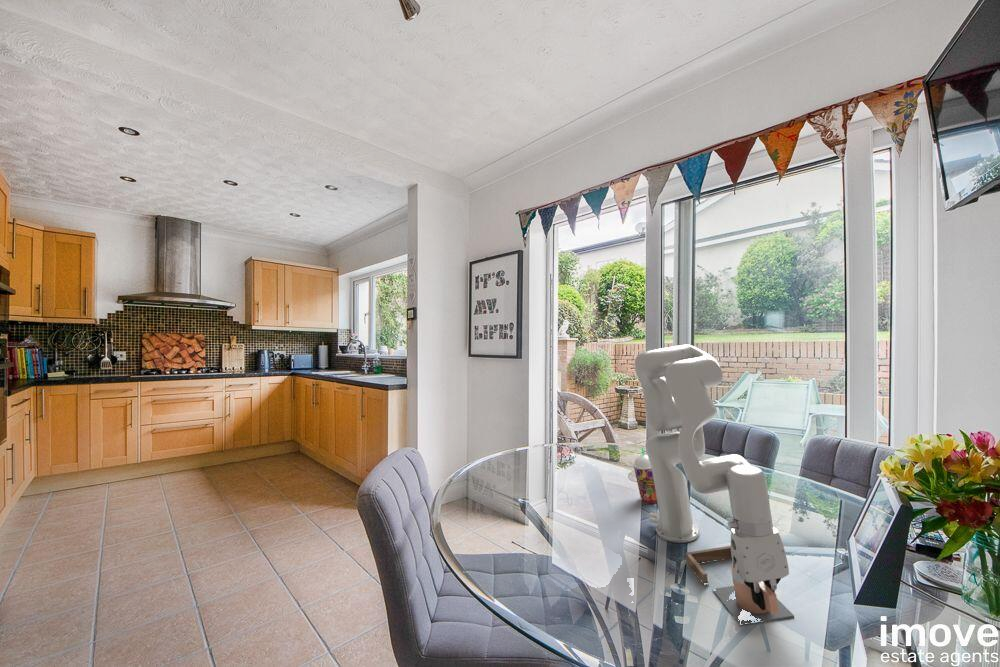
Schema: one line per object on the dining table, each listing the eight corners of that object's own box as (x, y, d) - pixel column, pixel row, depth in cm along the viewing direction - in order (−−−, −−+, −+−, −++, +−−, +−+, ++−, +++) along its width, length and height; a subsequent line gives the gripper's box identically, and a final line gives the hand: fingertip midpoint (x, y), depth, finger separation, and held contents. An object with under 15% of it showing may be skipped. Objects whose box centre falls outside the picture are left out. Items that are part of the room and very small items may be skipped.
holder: (687, 563, 116) (685, 552, 115) (736, 555, 115) (735, 544, 115) (704, 586, 106) (702, 574, 105) (759, 577, 105) (757, 565, 105)
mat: (712, 590, 103) (712, 589, 103) (760, 583, 103) (759, 581, 103) (740, 625, 92) (740, 624, 91) (794, 617, 91) (794, 615, 91)
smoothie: (650, 507, 150) (641, 453, 149) (634, 499, 157) (626, 448, 157) (667, 500, 153) (659, 447, 152) (650, 493, 161) (643, 442, 160)
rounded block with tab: (730, 595, 100) (725, 563, 100) (758, 591, 100) (753, 558, 100) (761, 632, 88) (755, 596, 88) (794, 627, 88) (788, 590, 88)
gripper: (726, 538, 87) (739, 623, 88) (800, 526, 87) (813, 611, 88) (708, 521, 95) (720, 599, 95) (776, 510, 95) (788, 588, 95)
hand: (764, 604), depth 91 cm, fingers closed on rounded block with tab, 1 cm apart
